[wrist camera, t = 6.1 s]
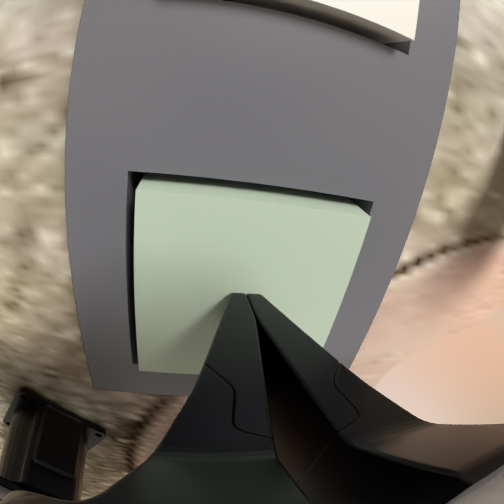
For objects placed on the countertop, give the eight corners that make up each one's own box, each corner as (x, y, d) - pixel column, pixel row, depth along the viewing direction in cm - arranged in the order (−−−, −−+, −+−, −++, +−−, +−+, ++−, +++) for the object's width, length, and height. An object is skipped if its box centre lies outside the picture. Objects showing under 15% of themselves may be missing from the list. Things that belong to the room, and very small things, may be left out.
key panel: (313, 338, 16) (336, 390, 13) (107, 329, 14) (93, 388, 11) (409, -78, 6) (458, -100, 3) (173, -138, 4) (172, -185, 1)
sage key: (290, 317, 14) (312, 373, 11) (147, 310, 12) (138, 370, 10) (328, 182, 11) (371, 217, 8) (152, 160, 10) (135, 190, 7)
